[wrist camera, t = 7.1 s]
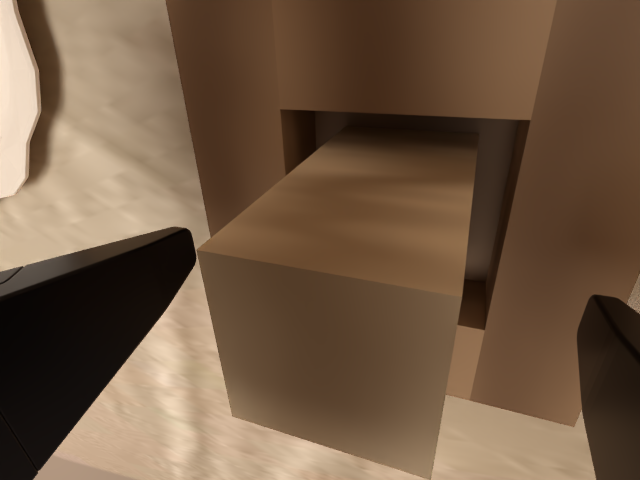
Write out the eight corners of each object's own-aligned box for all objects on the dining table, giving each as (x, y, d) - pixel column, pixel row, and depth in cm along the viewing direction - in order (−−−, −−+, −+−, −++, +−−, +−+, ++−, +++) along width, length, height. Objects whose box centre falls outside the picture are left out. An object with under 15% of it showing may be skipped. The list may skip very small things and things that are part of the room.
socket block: (702, -45, 9) (783, -65, 6) (560, 357, 15) (573, 426, 12) (225, -15, 13) (162, -19, 10) (264, 295, 19) (230, 339, 16)
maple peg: (479, 133, 12) (462, 296, 5) (460, 252, 14) (430, 479, 7) (345, 126, 13) (196, 250, 6) (346, 236, 15) (232, 416, 8)
